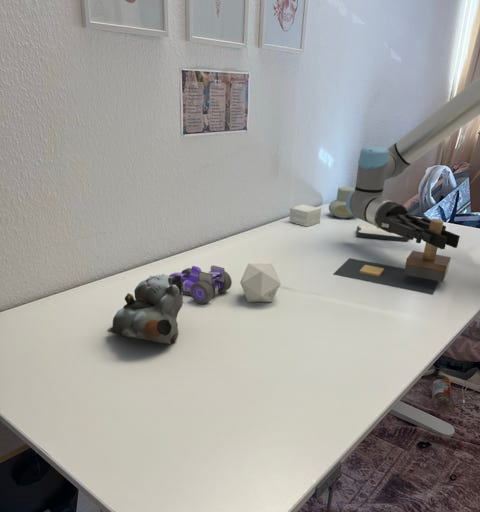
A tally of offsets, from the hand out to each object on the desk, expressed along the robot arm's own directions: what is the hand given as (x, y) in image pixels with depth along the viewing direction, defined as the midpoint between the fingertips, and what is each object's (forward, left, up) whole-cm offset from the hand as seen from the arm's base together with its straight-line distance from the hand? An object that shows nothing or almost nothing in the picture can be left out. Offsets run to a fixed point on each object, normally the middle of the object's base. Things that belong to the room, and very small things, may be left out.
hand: (450, 242), depth 107 cm
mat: (+13, -4, -13) cm, 18 cm away
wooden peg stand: (+4, -4, -9) cm, 11 cm away
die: (+35, +24, -13) cm, 45 cm away
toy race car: (+50, +28, -13) cm, 59 cm away
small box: (+50, -40, -13) cm, 66 cm away
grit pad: (+17, -4, -12) cm, 21 cm away
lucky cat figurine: (+46, +50, -13) cm, 69 cm away
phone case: (+23, -40, -13) cm, 48 cm away
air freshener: (+41, -56, -13) cm, 70 cm away
